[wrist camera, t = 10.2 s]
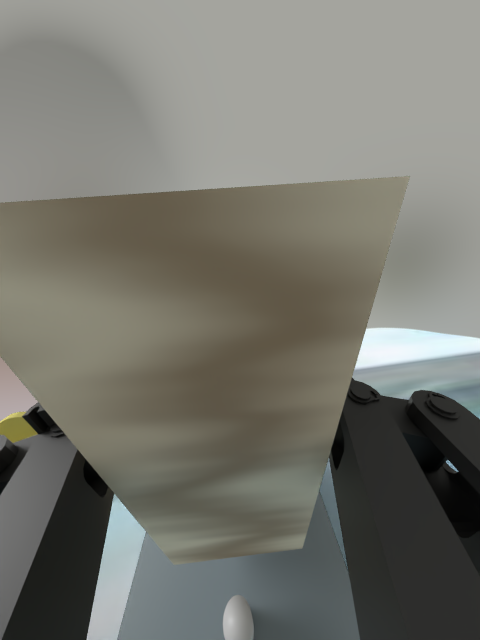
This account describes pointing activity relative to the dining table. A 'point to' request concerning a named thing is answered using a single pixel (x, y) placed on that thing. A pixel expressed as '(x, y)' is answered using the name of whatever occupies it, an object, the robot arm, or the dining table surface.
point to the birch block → (199, 345)
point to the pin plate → (245, 594)
